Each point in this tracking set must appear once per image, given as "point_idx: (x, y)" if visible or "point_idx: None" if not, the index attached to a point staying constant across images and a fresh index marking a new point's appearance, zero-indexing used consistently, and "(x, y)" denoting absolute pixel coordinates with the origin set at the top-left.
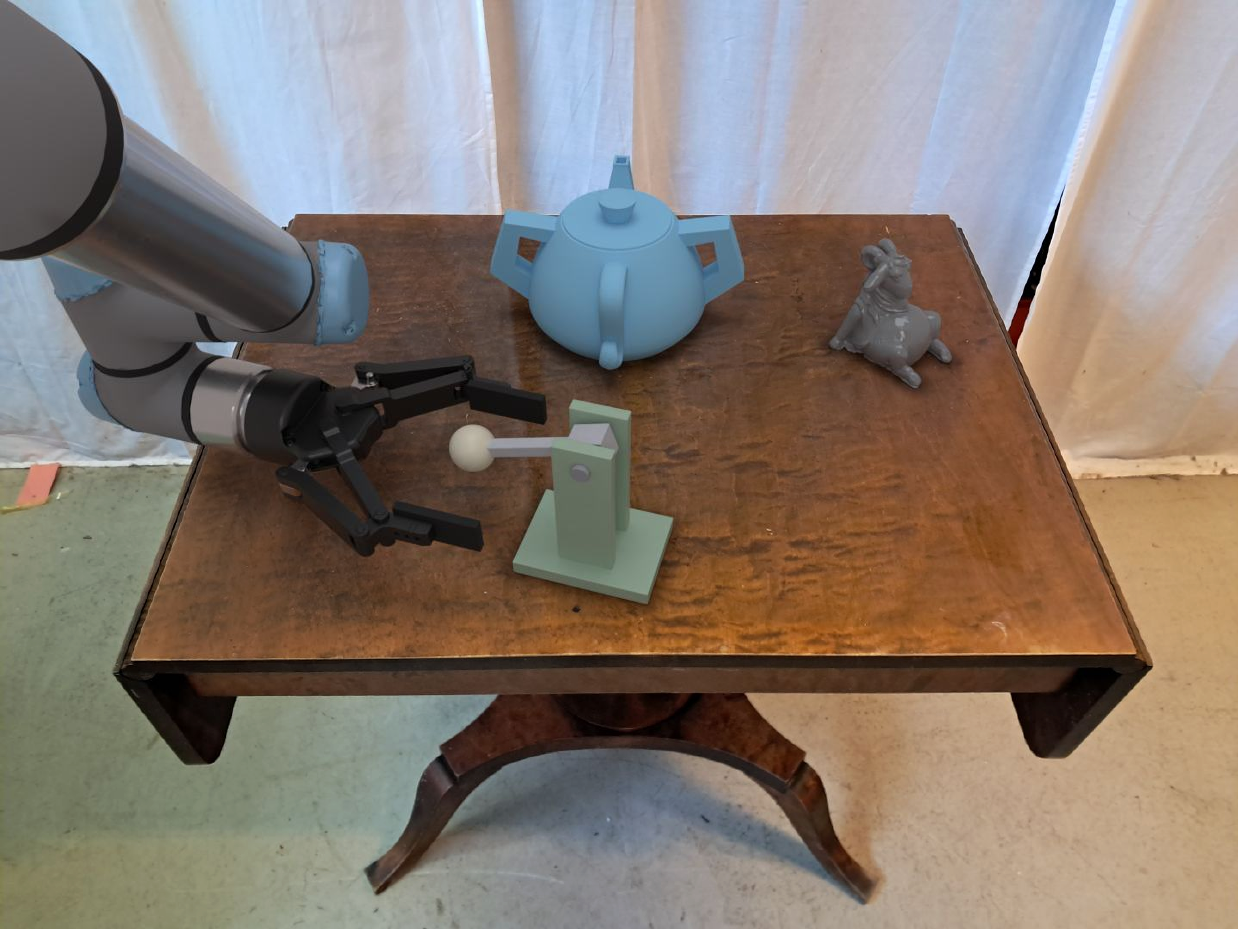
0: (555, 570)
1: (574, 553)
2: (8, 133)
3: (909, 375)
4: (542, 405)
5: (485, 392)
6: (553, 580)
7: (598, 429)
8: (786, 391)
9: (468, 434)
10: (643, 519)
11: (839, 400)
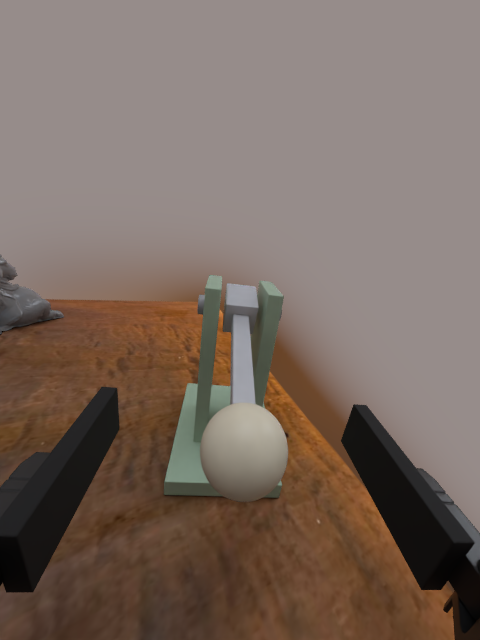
0: None
1: None
2: None
3: (56, 312)
4: (117, 395)
5: (56, 487)
6: None
7: (236, 288)
8: (39, 351)
9: (257, 415)
10: (193, 397)
11: (62, 335)
